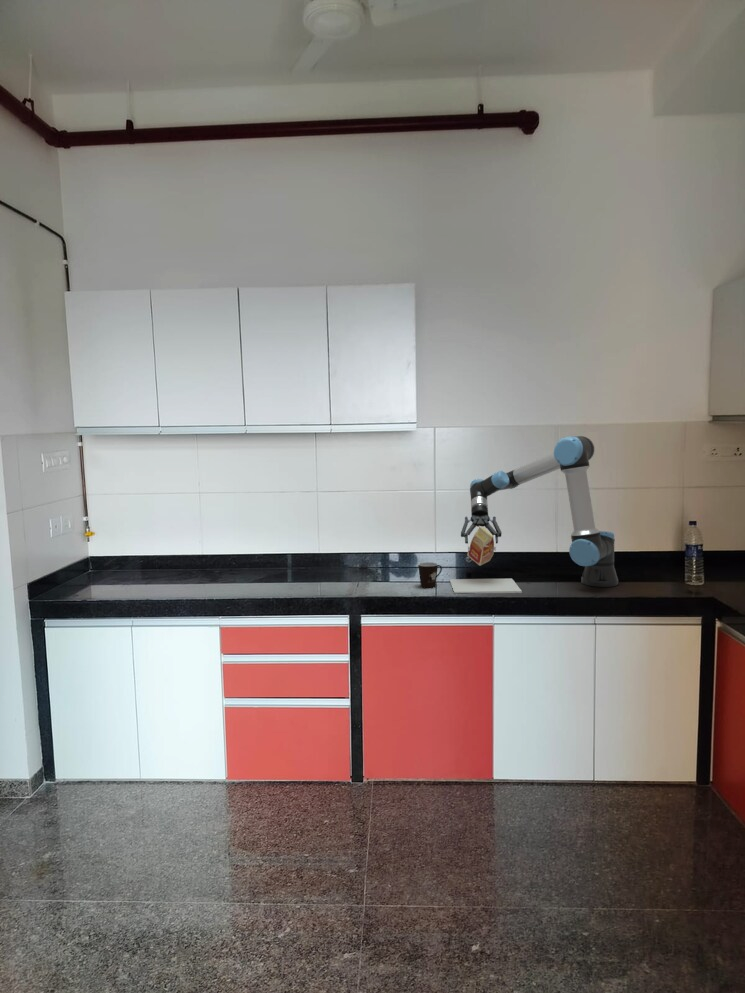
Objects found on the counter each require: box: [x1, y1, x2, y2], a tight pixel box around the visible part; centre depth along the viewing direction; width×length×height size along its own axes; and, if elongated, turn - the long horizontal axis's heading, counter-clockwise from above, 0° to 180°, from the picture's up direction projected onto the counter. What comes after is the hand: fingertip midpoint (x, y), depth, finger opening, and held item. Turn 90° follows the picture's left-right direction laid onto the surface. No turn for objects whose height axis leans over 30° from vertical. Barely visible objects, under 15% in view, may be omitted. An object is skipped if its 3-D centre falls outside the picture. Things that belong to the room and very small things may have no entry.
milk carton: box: [466, 526, 495, 567], centre depth 282 cm, size 9×9×20 cm
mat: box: [449, 578, 523, 594], centre depth 279 cm, size 28×23×1 cm
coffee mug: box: [417, 561, 443, 589], centre depth 281 cm, size 12×9×10 cm
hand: (482, 548), depth 279 cm, fingers closed on milk carton, 10 cm apart
